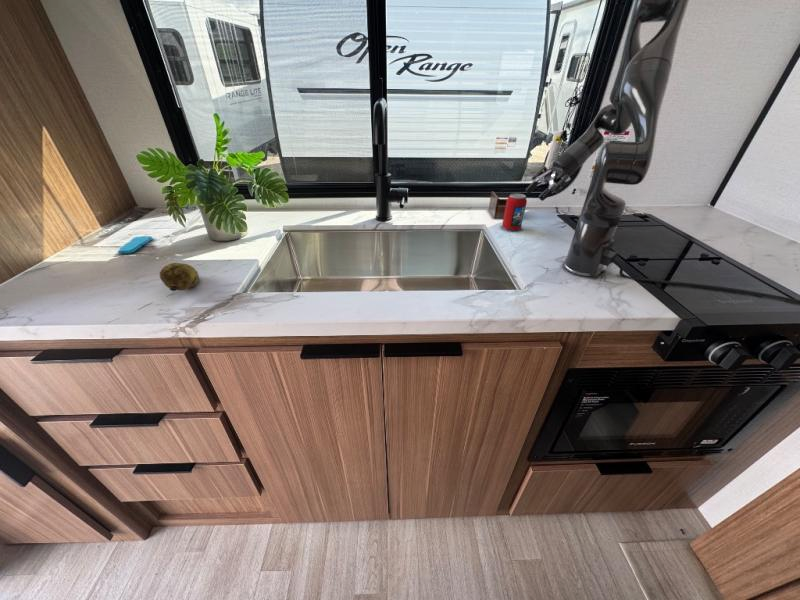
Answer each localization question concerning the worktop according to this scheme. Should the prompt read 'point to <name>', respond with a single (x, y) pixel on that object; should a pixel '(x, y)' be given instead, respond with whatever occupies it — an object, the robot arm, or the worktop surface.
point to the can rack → (497, 206)
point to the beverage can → (514, 211)
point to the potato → (179, 276)
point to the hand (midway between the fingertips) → (533, 195)
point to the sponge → (134, 244)
